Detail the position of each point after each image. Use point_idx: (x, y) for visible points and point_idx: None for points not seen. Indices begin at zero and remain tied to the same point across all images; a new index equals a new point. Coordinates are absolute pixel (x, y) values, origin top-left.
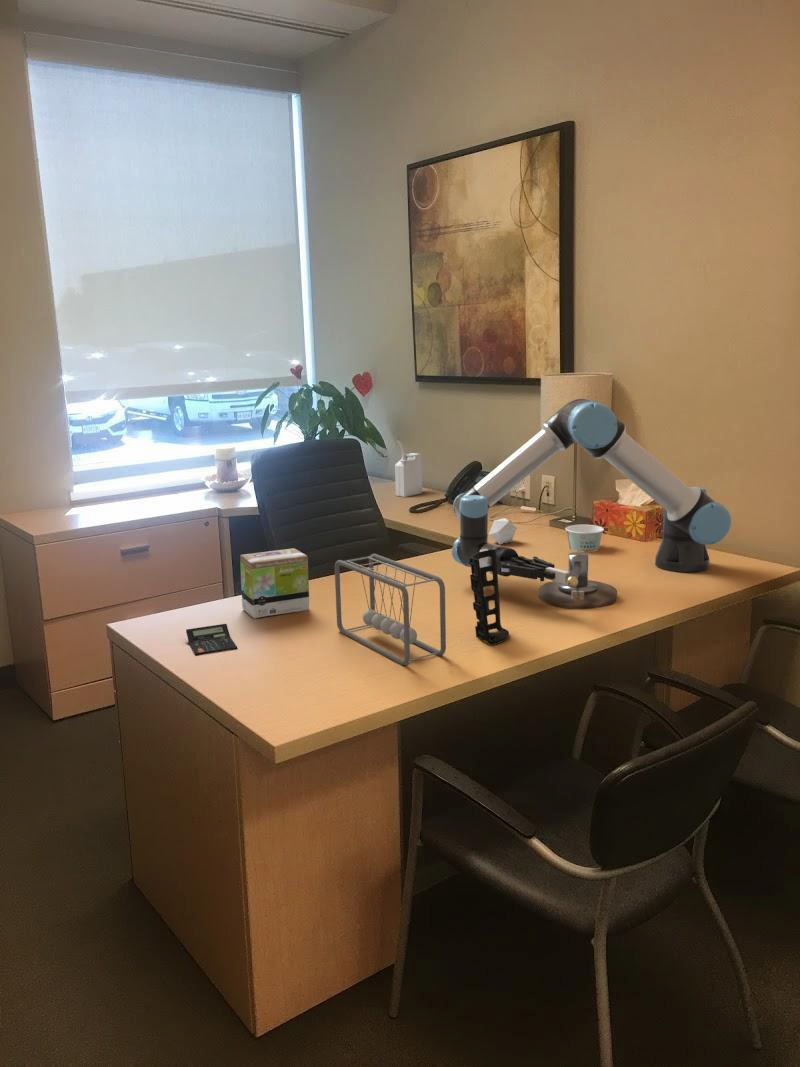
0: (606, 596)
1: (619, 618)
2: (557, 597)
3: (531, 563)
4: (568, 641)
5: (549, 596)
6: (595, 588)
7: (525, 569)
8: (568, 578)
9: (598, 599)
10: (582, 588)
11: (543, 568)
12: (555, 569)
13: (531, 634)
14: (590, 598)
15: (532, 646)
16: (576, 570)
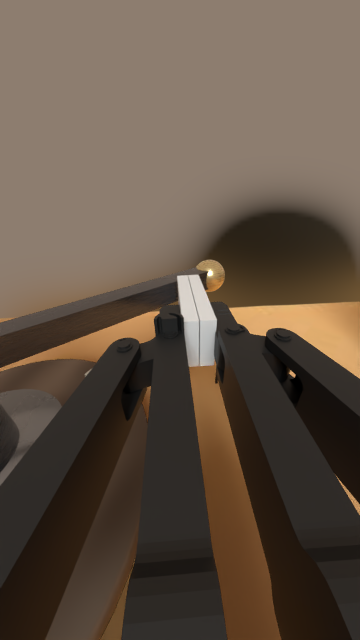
0: (43, 368)
1: (132, 329)
2: (131, 446)
3: (204, 501)
4: (272, 312)
5: (141, 481)
6: (6, 393)
7: (350, 380)
8: (220, 265)
9: (81, 364)
10: (30, 410)
11: (223, 328)
12: (193, 297)
13: (327, 346)
14: (82, 378)
15: (339, 319)
16: (126, 289)
